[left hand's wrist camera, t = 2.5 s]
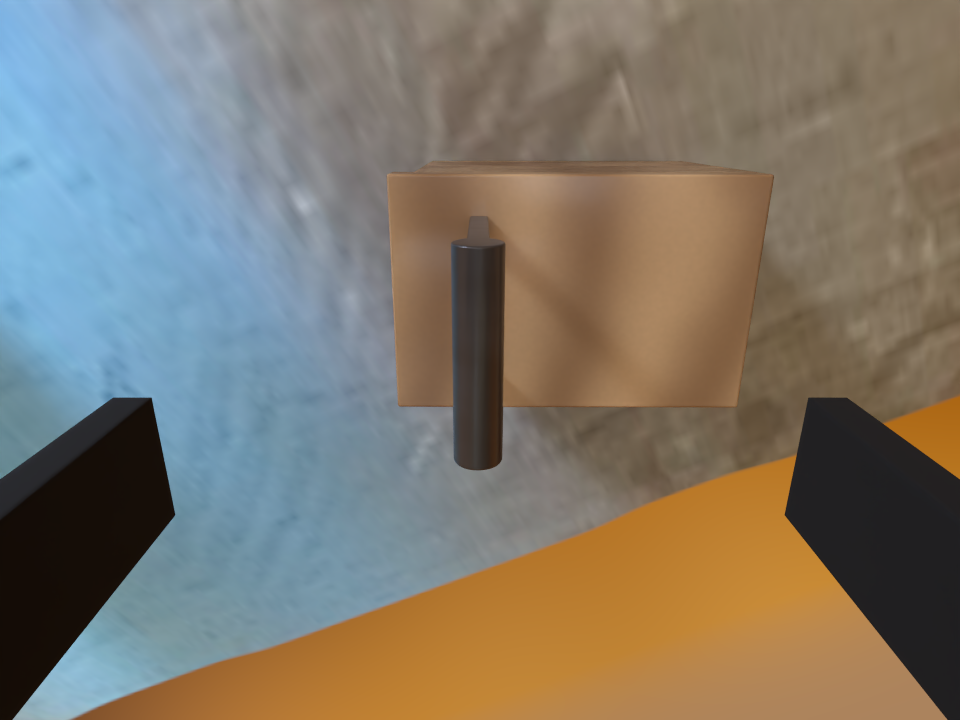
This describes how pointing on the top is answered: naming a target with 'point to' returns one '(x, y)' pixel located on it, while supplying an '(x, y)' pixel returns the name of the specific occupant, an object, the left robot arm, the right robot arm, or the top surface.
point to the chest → (575, 166)
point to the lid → (570, 292)
